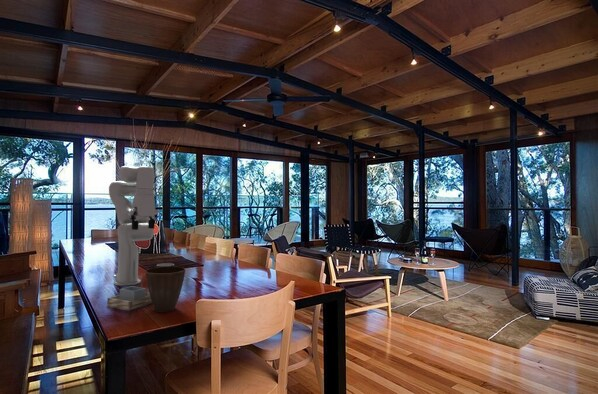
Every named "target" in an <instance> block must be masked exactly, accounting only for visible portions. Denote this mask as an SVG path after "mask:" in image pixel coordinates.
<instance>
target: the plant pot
mask: <svg viewBox="0 0 598 394" xmlns="http://www.w3.org/2000/svg"><path fill="white" fill-rule="evenodd" d="M150 268H151V269H150ZM150 268H149V269H146V270H145V277H146V285H147V290H148V293H149V294H150V297H151V301H152V306H153V308H154V311H155V312H156V313H167V312H168V313H169V312H173V311H174V310H175V308H176V306H177V303H178V301H179V298H180V295H181V292H182V287H183V283H184V280H185V274H186V268H185V267H182V266H174V267H157V266H156V268H152V267H150Z"/></svg>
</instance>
